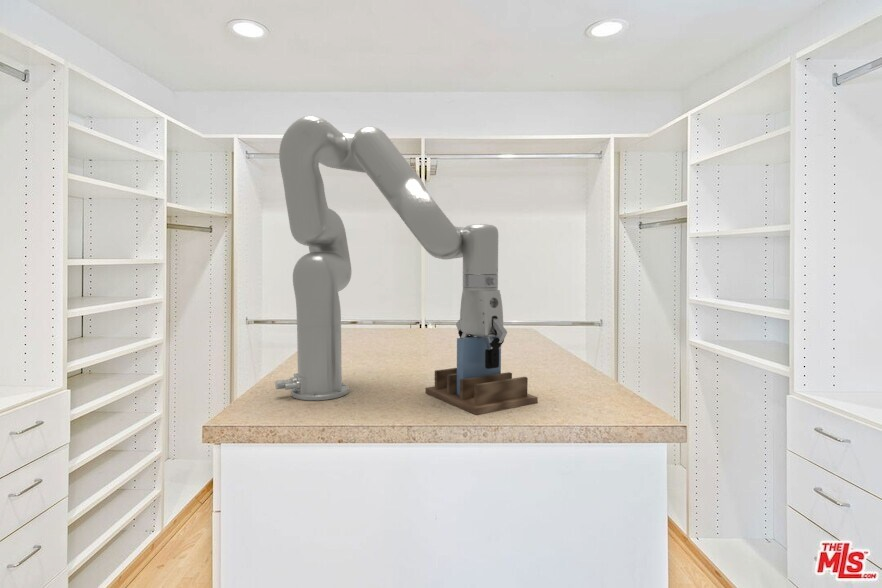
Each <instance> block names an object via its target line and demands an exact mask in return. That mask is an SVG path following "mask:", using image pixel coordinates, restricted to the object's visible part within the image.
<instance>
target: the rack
mask: <svg viewBox="0 0 882 588" xmlns="http://www.w3.org/2000/svg"><path fill="white" fill-rule="evenodd" d="M528 379H529V378H528V377H527V376H521V377H520V376H519V377H513V373H512V372H509V371H508V372H501V373H500V374H494V375H487V376H480V377H473V378H466V379H460V395H458V394H457V367H452V368H444V369H436V370H434V386H429V387H427V386H426V387H425V388H424V389H425V394H427V395H429V396H431V397H434V398H436V399H438V400H441V401H443V402H445V403H448V404H449V405H452V406H454V407H456V408H459V409H461V410H463V411H465V412H467V413H470V414H472V415H475V416H478V415H482V414H488V413H492V412H498V411H503V410H507V409H512V408H518V407H522V406H523V407H524V406H528V405H533V404H538V402H539V401H538V399H539V397H538V396H536V395H532V394H529V393H528V381H529V380H528Z"/></svg>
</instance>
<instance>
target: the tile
mask: <svg viewBox="0 0 882 588" xmlns="http://www.w3.org/2000/svg"><path fill="white" fill-rule="evenodd" d="M490 340H491V342H492V341H493V339H490ZM485 349H488V348H487V345H486V343H485V340H484V338H483V337H477V336H475V337H465V338H460V337H457V338H456V368H457V394H458V395H460V379H466V378H473V377H480V376H487V375H494V374H500V373H502V347H501V348H500V349H499V367H498V368H491V369H487V368H485Z"/></svg>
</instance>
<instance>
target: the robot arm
mask: <svg viewBox="0 0 882 588" xmlns="http://www.w3.org/2000/svg"><path fill="white" fill-rule="evenodd" d="M279 145H280V146H279V150H278V151H279V153H278V156H279V158H278V159H279V168H280V173H281V178H282V184H283V190H284V197H285V199H284V200H285V205H286V210H287V211H286V212H287V217H288V222H289V229H290V233H291V236H292V237H293V239H294V240H295V241H296V242H297V243H299V244H300V245H302V246H307V247H308V251H309V252H308V253H306V254H303V256H301V257H300V258H299V259H298V260H297V262H296V263H295V265H294V268H293V272H292V285H293V291H294V298H295V305H296V306H295V307H296V332H297V333H296V343H297V346H296V347H297V349H296V350H297V373H293V377H292V376H291V377H290V378H289V379H280V380H275V382H274V384H275V386H274V387H275V390H282V389H284V391H287V390H290V396H291V397H292V398H293V399H297V400H299V401H300V400H301V401H328V400H334V399H339V398H341V397H344V396H346V395H347V394H349V390H350V388H349V386H348V385H347V384H345V383H342V373H343V371H342V370H343V369H342V313H341V312H342V311H341V310H342V309H341V302H340V296H339V292H340V291H342V290H344V289H345V288H346V287H347V286H348V285H349V283H350V281H351V278H352V264H351V257H350V252H349V246H348V240H347V239H348V238H347V232H346V228H345V225H344V222H343V220H342V218H341V216H340V215H339V214H338V213H337V212H336V211H335V210H333V209H331V208H329V206H328V203H327V198H326V192H325V184H324V180H323V177H322V173H321V171H320V167H319V165H320V164H321V165H323V166H325V167H327V168H331V169H336V170H337V169H338V170H343V171H351V172H357V173H362V174H363V173H365V174H366V175H367V176H368V177H369V179H370V180H371V181H372V182H373V183H374V185H375V186H376V187H377V188H378V190H379V191H380V193H381V194H382V195H383V197H384V198H385V199H386V200H387V202H388V204H389V205H390V206H391V208H392V209H393V210H394V211H395V212H396V214H397V215H398V216H399V217H400V218H401V220H402V221H403V222H404V224H405V225H406V227H407V228H408V229H409V231H410V232H411V233H412V234H413V236H414V238H415V239H416V240H417V241H418V242H419V243H420V245H421V246H422V248H423V249H424V250H425V251H426V252H427V253H428V254H429V255H430V256H431V257H433V258H436V259H441V260H453V259H454V260H455V259H460V258H461V259H462V292H461V300H460V312H459V320H458V321H457V322H456V324H455V325H456V328H457V331H458V333H457V334H458V337H459V338H465V337H475V336H477V337H483V338H484V340H485V343H486V345H487V348H488V349H485V368H487V369H491V368H498V367H499V349H500V348H501V349H502V345H503V343H504V342H505V338H506V337H507V334H508V330H507V329H506V328H505V327H504V309H503V301H502V295H501V290H500V289H499V230H498V228H497V227H496V226H495V225H493V224H482V223H480V224H479V223H478V224H469V225H466V226H465V227H464V226H455V225H454V224H453V222H451V220H450V219H449V217H447V215H446V213H445V212H444V211H443V210H442V209H441V208H440V207H439V205H438V203H437V202H436V201H435V200H434V199H433V197H432V196H431V194H430V193H429V192H428V190H427V188H426V186H425V184H424V182H423V180H422V178H421V177H420V176H419V175H418V173H417V172H416V171H415V170H414V168H413V167H412V165H411V164H409V162H408V161H407V159H406V158H405V157H404V155H403V154H402V152H401V151H400V150H399V149H398V148H397V146H396V145H395V144H394V142H393V141H392V140H391V139H390V137H389V136H388V135H387V134H386V133H385V132H384V131H383V130H381V129H380V128H378V127H375V126H372V125H370V126H369V125H368V126H364V127H362V128H360V129H357V130H356V131H355V133H354V134H353V133H346V132H341V131H339V130H338V128H336V127H335V126H334V125H333V124H331V122H329V121H327V120H326V119H324V118H322V117H319V116H317V115H306V116H302V117H300V118H298V119H297V120H295V121H293V122H292V124H290V126H288V128H287V129H286V131H285V133H284V134H283V136H282V138H281V141H280V144H279ZM319 163H320V164H319ZM490 339H493V341H492V342H491V340H490Z"/></svg>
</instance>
